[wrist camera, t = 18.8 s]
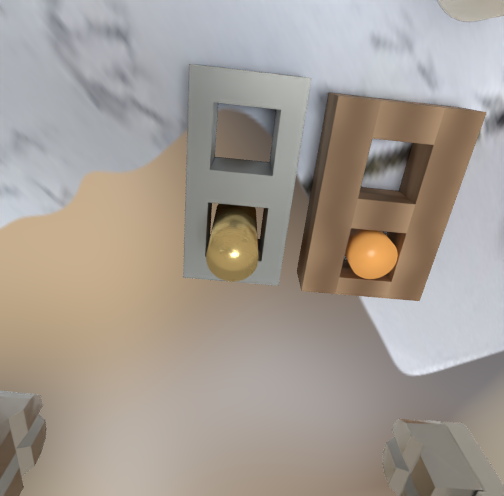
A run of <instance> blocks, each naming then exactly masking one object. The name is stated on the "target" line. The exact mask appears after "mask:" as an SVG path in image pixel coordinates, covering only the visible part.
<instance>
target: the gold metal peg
mask: <svg viewBox="0 0 504 496" xmlns="http://www.w3.org/2000/svg"><path fill="white" fill-rule="evenodd" d="M206 262H207V265H208V268H209V269H210V271H211V272H212V273H213V274H214V275H215V276H216V277H218V278H220V279H222V280H225V281H230V282H235V281H241V280H244V279H246V278H248V277H249V276H250V275H252V273H253V272H254V271H255V270H256V268H257V265H258V240H257V222H256V209H255V207H251V206H240V205H230V204H220V203H219V204H218V206H217V210H216V214H215V219H214V223H213V227H212V232H211V236H210V241H209V245H208V250H207V254H206Z"/></svg>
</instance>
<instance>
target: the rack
mask: <svg viewBox="0 0 504 496" xmlns="http://www.w3.org/2000/svg"><path fill="white" fill-rule="evenodd" d="M310 83H311V78H306V77H299V76H290V75H282V74H273V73H264V72H256V71H247V70H238V69H229V68H221V67H212V66H203V65H191V64H189V96H188V131H187V166H186V167H187V168H186V202H185V237H184V272H183V277H185V278H196V279H208V280H219V281H225V280H222V279H220V278H218V277H216V276H215V275H214V274H213V273H212V272H211V271H210V269H209V268H208V265H207V262H206V254H207V250H208V245H209V241H210V236H211V235H210V226H211V209H212V203H220V204H230V205H240V206H251V207H261V208H264V212H263V220H262V228H261V236H260V239H257V240H258V265H257V268H256V270H255V271H254V272H253V273H252V275H250V276H249V277H248V278H246V279H244V280H241V281H235V282H243V283H254V284H267V285H279V280H280V273H281V267H282V261H283V255H284V248H285V242H286V236H287V229H288V223H289V216H290V210H291V204H292V197H293V190H294V184H295V178H296V172H297V166H298V159H299V153H300V147H301V140H302V134H303V128H304V121H305V115H306V109H307V102H308V96H309V90H310ZM218 103H224V104H233V105H242V106H251V107H260V108H269V109H276V115H275V123H274V131H273V139H272V148H271V156H270V162H261V161H250V160H241V159H230V158H222V157H215V143H216V127H217V111H218Z"/></svg>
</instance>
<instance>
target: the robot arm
mask: <svg viewBox="0 0 504 496" xmlns="http://www.w3.org/2000/svg"><path fill="white" fill-rule="evenodd" d="M42 407H43V404H42V400H41V396H40V395H36V394H26V393H16V392H6V391H0V496H19V495H20V493H21V491H22V490H23V487H24V486H23V481H22V475H24V474H25V473H26V472H28V471H29V470H30V469H31V468H33V467H34V466H35V464H36V462H37V460H38V458H39V456H40V454H41V452H42V449H43V445H44V442H45V439H46V422H45V420H44V419H43V418H42V417H41V416H40V415H39V412H40V410H41V408H42ZM392 431H393V434H394V436H395V437H394V438H392V439H391V440H389V441H388V442H386V445H385V448H384V451H383V469H384V474H385V477H386V480H387V483H388V486H389V487H390V488H391V489H392V490H393V491H394V492H395V493H396V494H397V495H398V496H504V485H503V484H502V482H501V480H500V479H499V477H498V475H497V474H496V472H495V470H494V469H493V467H492V466H491V464H490V463H489V461H488V459H487V458H486V456H485V455H484V453H483V451H482V450H481V448H480V447H479V445H478V444H477V442H476V440H475V439H474V437H473V436H472V434H471V432H470V431H469V429H468V428H467V427H466V426H465V425H464V424H463V423H454V422H439V421H428V420H410V419H399V420H397V421H396V422H395V424H394V426H393V428H392Z"/></svg>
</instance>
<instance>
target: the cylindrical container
mask: <svg viewBox="0 0 504 496" xmlns="http://www.w3.org/2000/svg"><path fill="white" fill-rule="evenodd" d="M438 2H439V4H440V6H441V7H442V9H443V10H444V11H445V12H446V13H447V14H448V15H449V16H450V17H452V18H454V19H457V20H459V21H465V22H473V21H480V20H485V19H489V18H494V17H499V16H504V0H438Z"/></svg>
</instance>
